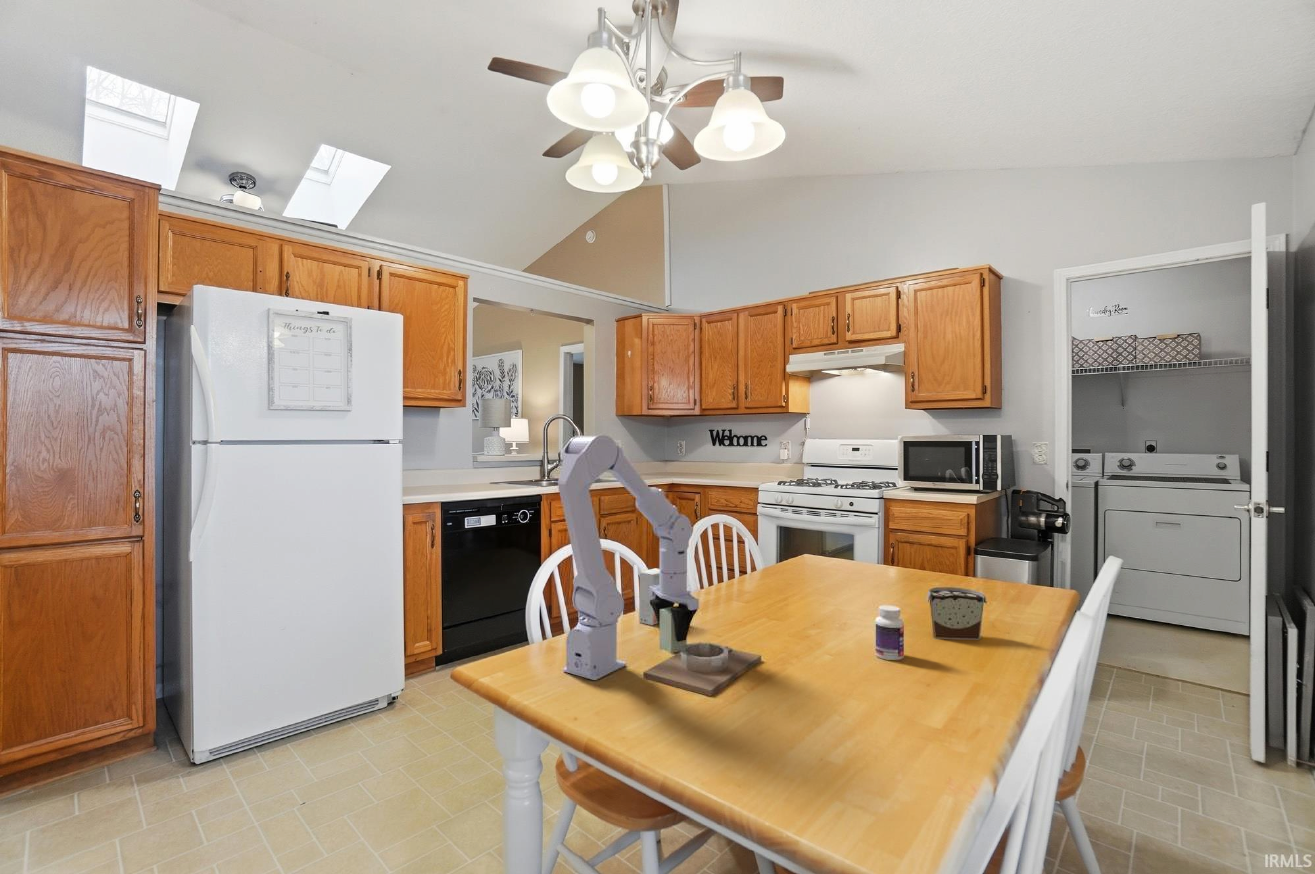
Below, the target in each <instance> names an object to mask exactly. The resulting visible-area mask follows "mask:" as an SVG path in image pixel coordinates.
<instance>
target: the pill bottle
mask: <svg viewBox="0 0 1315 874" xmlns="http://www.w3.org/2000/svg"><path fill="white" fill-rule="evenodd" d="M878 615H879V616H877V617H875V619H874V654H875V656H876V657H878V658H879V659H882V660H885V661H886V660H887V661H900V660H902V659H904V655H905V654H904V652H905V650H904V649H905V648H904V647H905V646H904V644H905V643H904V641H905V624H904V621H903V620H902V619H901V618H900V616H901V608H900V607H898V606H896V605H889V604H888V605H886V604H885V605H884V604H883V605H879V606H878Z"/></svg>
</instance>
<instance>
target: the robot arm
mask: <svg viewBox="0 0 1315 874" xmlns="http://www.w3.org/2000/svg"><path fill="white" fill-rule="evenodd" d="M561 455H562V463H561V467H560V473H559V476H558V481H557V487H558V491H559V496H560V501H561V505H562V510H563V514H564V520H565V523H566V528H567V532H568V537H569V541H570V545H571V550H572V555H573V559H574V563H575V569H576V573H577V574H576V576H574V578H573V580H572V584H573V592H572V596H571V597H572V601H571V602H572V606H573V607H574V608H575V610H576V611H577V613H578V616H577V617H578V622H577V625H575V626H574V628H572V629H571V630H570V631H569V632H568V633H567V635H566V657H565V658H566V659H565V660H566V661H565V662H566V663H565V665H566V666H565V667H563V668H562V671H563V672H565V673H568V674H571V675H574V676H575V675H576V676H579V677H581V678H585V679H589V680H592V681H597V680H598V679H601V678H603V677H605V676H607V675H608V674H611V673H613V672H615V671H616V670H619V669H620V668H623V667H624V666H626V665H627V662H626V661H624V660H619V659H618V658H617V657H618V656H617V653H618V650H617V649H618V647H617V644H618V642H617V640H618V639H617V637H618V636H617V629H618V628H617V626H618V625H617V624H618V622H619V618H620V617H621V616H622V614H623V611H624V608H625V600H624V597H623V595H622V593H621V592H620V591H619V589H618V588H617V585H616V581H615V579H614V577H613V576H612V575H611V574H610V572H609V571H608V570H607V568H606V562H605V558H604V554H603V548H602V544H601V539H600V536H599V535H600V534H599V530H598V525H597V521H596V517H595V511H594V507H593V503H592V498H591V492H590V488H591V487H592V486H593V484H594V483H595V481H596V480H597V479H598V478H599V477H601V476H602V475H603V474H604V473H609V474H611V475H612V476H613V477H614V478H615V479H616V480H617V481H618V482H619V484H621V485H622V486H623V487H624V488H625V489H626V490H627V491H628V492H629V493H630V494H631V495H632V496H633V497H634V498H635V507H636V509H637V510H638V511H639V512H640V513H641V514H642V516H644V518H646V520H648V521H649V523H650V525H652V530H653V533H654V535H655V536H656V537H658V538H659V568H658V569H659V585H653V586H650V595H651V596H654V595H655V599H652V600H650V605H651V606H652V608H653V610H654V612H655V615H656V618H657V622H658V623H657V625H658V630H659V631H660V609H663V608H669V607H670V610H671V613H672V616H673V619H674V624H675V636H676V641H678V642H680V641H684V640H686V638H687V637H688V632H689V630H690V626H691V623H692V621H693V618H694V617H695V614H696V613H697V611H698V610H699V609H700V599H699V598H696V597H695V596H693V595H692V594H691V590H690V589H688V549H689V547H690V544H689V543H690V539H691V538H692V536H693V533H694V527H693V526H692V523H691V520H690V519H689V517H688V516H686V515H684V514H682V513H681V514H680V513H679V511H678V507H677V506H676V505H673V504H672V503H671V502H670V501H669V499H667V497H666V496H665V494H666V492H665V491H664V490H663V489H662V488H658V487H656V486H653V487H652V486H651V487H649V486H648V483H646V482H645V480H644V479H643V478H642V476H641V475H640V474H639V473H638V471H637V470H636V469H635V467H634V466H633V465H632V463H631V462H630V460H628V459H627V457H626V456H625V454H624V450H623V448H621V447H620V446H619V445H618V444H617V443H616V442H615V440H614V439H613V438H612V437H611V436H609V435H605V434H601V435H600V434H599V435H582V434H579V435H574V436H573V437H572V438H571V439H569V440H568V442H567V443H566V445H565V446H564V447H563V449H562V451H561ZM675 604H677V605H675ZM674 606H675V607H674Z"/></svg>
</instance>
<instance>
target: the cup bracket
mask: <svg viewBox="0 0 1315 874" xmlns="http://www.w3.org/2000/svg"><path fill="white" fill-rule="evenodd" d="M761 661H762V655H760V654H756V653H751V652H746V651H742V650H737V649H734V648H732V647H729V646H727V645H725V646H723V645H722V644H718V643H713V642H705V641H704V642H700V641H698V642H692V643H687V645H685V646H683V647H682V648H681V651H679V652H678V653H676V654H674V655H672V656H671V657H669V658H667V659H665V660H663V661H661V662H659V663H658V664H656V665H654V666H652V667H649V668H648V669H647V670H644V671H643V676H642V677H643V679H646V680H647V679H648V680H651V681H655V682H658V683H662V684H665V685H668V686H669V685H670V686H672V687H676V688H680V689H682V690H686V691H691V692H693V693H698V694H701V695H705V696H708V697H711V696H713V695H715V694H716V693H717V692H719V691H720V690H721V689H723V688H724V687H726V686H728V685H729V684H730V683H731V682H733V681H734V680H736V679H737V678H739V677H740V676H742V675H743V674H745V673H746V672H747V671H749V670H750V669H752V668H753V667H754V666H756V665H758V663H760V662H761Z"/></svg>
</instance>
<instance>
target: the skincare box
mask: <svg viewBox="0 0 1315 874" xmlns="http://www.w3.org/2000/svg"><path fill="white" fill-rule="evenodd" d="M653 585H659V568H656V567H655V568H651V569H647V570H643V571H640V572H639V595H638V597H639V599H638V601H639V606H638V607H639V608H638V613H639V614H638V622H639V623H640V622H641V623H640V624H644V625H645V624H646V625H650V626H654V625H656V624H657V625H658V622H657V618H656V615H655V612H654V610H653V608H652V606H651V605H650V600H652V599H655V595H654V596H651V595H650V586H653Z"/></svg>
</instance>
